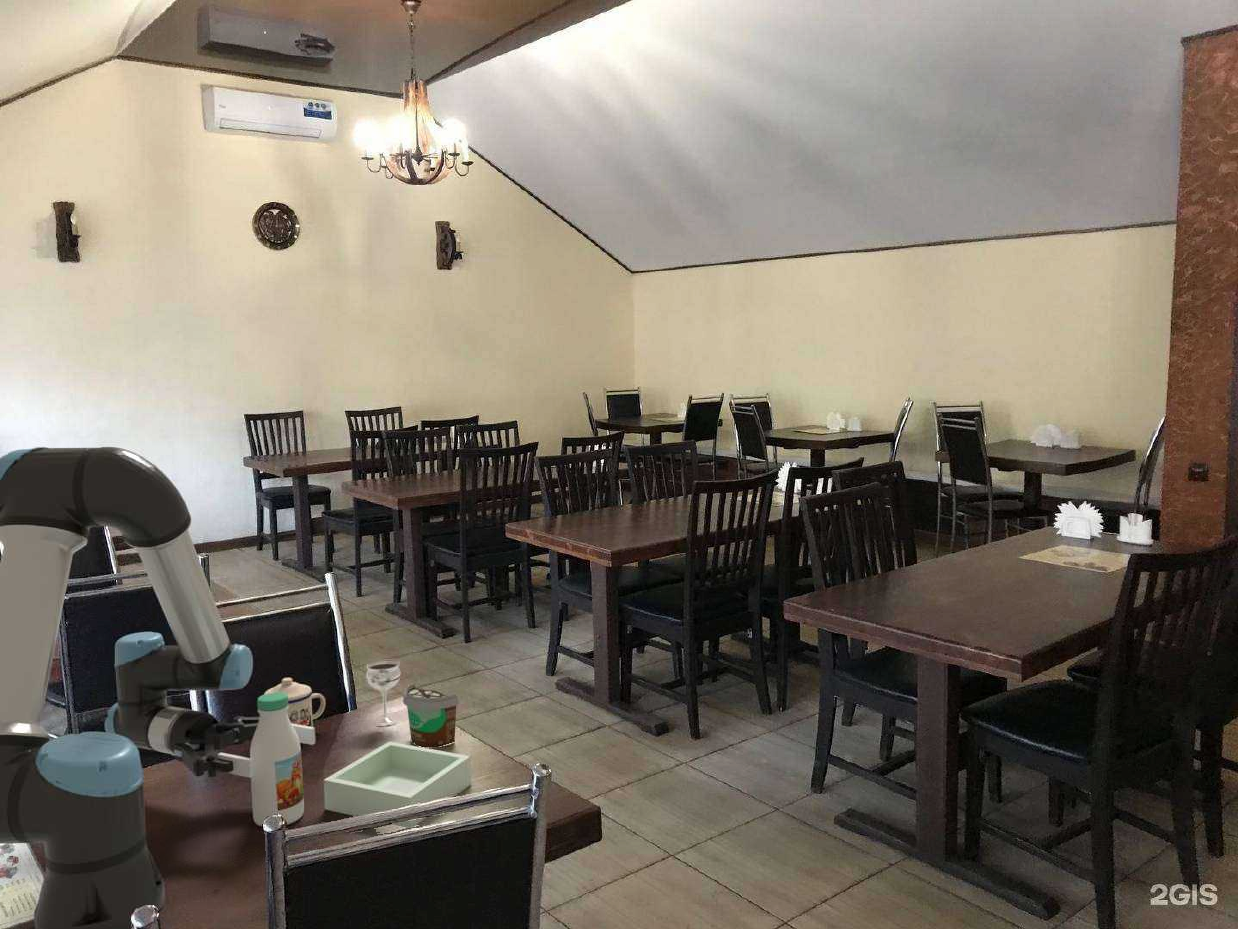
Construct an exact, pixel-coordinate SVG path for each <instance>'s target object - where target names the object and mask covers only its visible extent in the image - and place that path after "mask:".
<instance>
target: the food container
mask: <svg viewBox="0 0 1238 929" xmlns="http://www.w3.org/2000/svg"><path fill="white" fill-rule="evenodd" d="M402 702H403V704H404V706H406V708H407V714H408V724H409V733H410V740H412V741H411V743H412V742H413V743H415V744H416V745H418V746H421V747H429V748H428V749H431V748H430V747H439V746H443V745H446V744H449V743H452V742H455V741H456V719H457V706H458V705H459V704H460V702H459V698H458V695H457V693H454V694H449V695H446V694H443V693H441V692H439V691H437V690H432V689H431V690H429V689H422V688H419V687H416V682H413V683H411V684H409V685H408V686H407V687H406V688H405V691H404V694H403V699H402ZM413 743H412V744H413Z"/></svg>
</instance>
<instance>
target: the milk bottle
mask: <svg viewBox="0 0 1238 929" xmlns="http://www.w3.org/2000/svg"><path fill="white" fill-rule="evenodd" d="M256 705H257V706H256V707H257V713H258V714H259V716H258V717H259V722H258V726H257V729H256V731H255V734H254V736H253V739H252V740H251V742H250V750H249V758H251V759H253V767H254V776H253V777H251V778H250V788H251V803H252V804H251V807H252V808H251V809H252V818H253V819H252V820H253V821H254V823H255V824H256V825H257V826H259V827H262V824H263V822H264V819H265V818H266V817H267V816H270V815H274V814H279V815H281V816H283V817H284V819H285V820H286V822H287V825H286V826H288V825H290V824H293V823H295V822H296V821H299V820H300V819H301V818H302V816H303V815H304V812H305V801H304V800H305V798H304V795H305V794H304V781H303V780H304V779H303V764H302V762H303V760H302V748H301V743H300V742H299V738H298V735H297V733H296V731H295V729H294V727H293V726H292V724H291V722H290V720H289V717H288V714H287V709H288V708H289V707H288V696H287V694H285V693H280V692H276V693H268V694H265V695H264V694H263V695H260V696H259V697H258V698H257V702H256Z"/></svg>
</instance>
